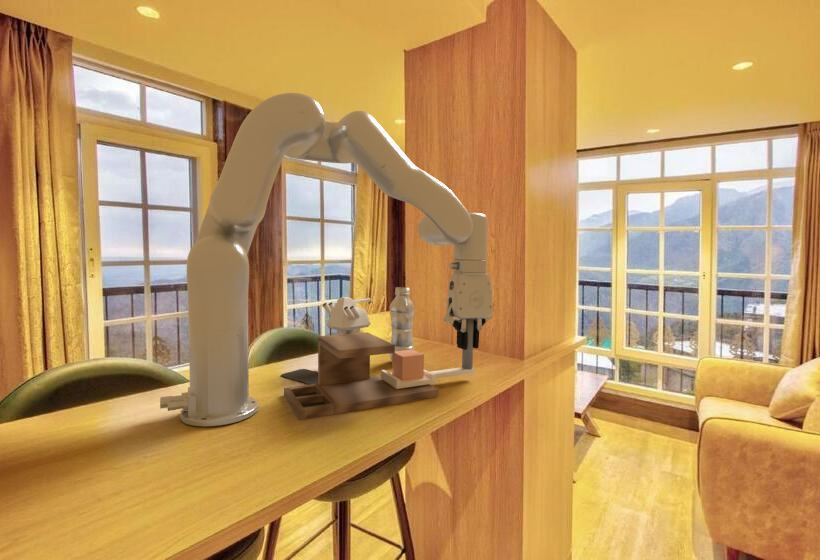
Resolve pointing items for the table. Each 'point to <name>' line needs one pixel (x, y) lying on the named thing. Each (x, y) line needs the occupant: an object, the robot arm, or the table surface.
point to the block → (408, 365)
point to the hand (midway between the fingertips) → (467, 347)
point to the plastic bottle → (402, 320)
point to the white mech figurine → (347, 315)
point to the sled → (430, 376)
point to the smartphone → (302, 376)
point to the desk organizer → (350, 379)
